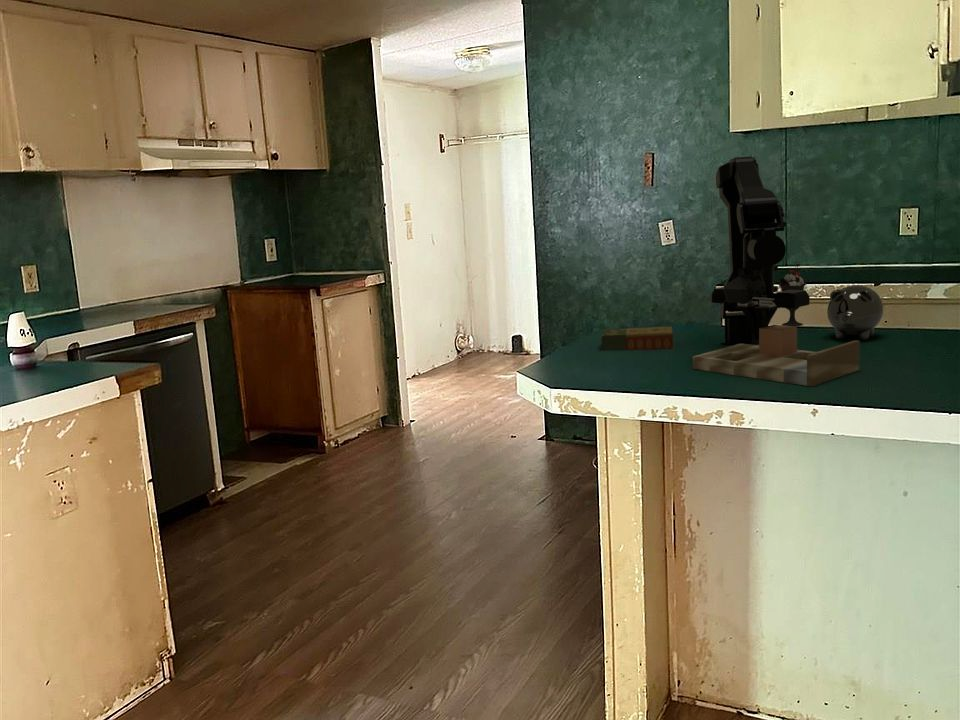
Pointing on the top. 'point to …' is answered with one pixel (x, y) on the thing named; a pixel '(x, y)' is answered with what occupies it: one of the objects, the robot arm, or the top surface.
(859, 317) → the piggy bank
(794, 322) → the sundae
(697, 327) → the top surface
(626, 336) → the carton
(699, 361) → the brown wooden compartment tray
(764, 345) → the block
